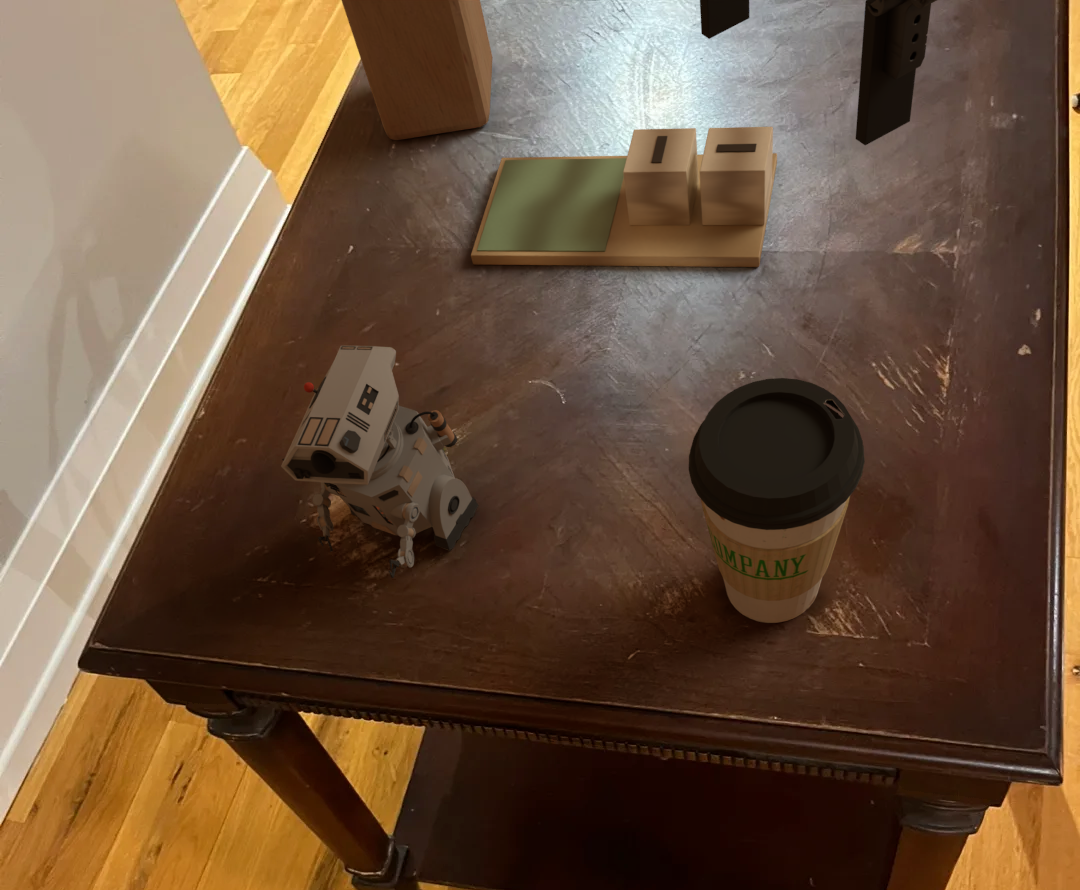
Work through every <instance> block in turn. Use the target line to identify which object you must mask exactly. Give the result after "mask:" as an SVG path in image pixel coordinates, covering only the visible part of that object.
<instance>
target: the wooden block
mask: <svg viewBox="0 0 1080 890" xmlns="http://www.w3.org/2000/svg"><path fill="white" fill-rule="evenodd" d="M341 3H342V6H343V9H344V12H345V15H346V19H347V22H348V25H349V27H350V31H351V33H352V36H353V39H354V43H355V46H356V49H357V52H358V55H359V57H360V61H361V64H362V68H363V70H364V72H365V73H364V74H365V76H366V78H367V82H368V85H369V88H370V90H371V94H372V97H373V100H374V103H375V106H376V109H377V113H378V115H379V118H380V121H381V124H382V127H383V130H384V132H385V134H386V136H387V137H388V138H389V139H390V140H393V141H400V140H401V141H402V140H407V139H413V138H418V137H426V136H432V135H437V134H445V133H451V132H457V131H463V130H469V129H470V130H471V129H476V128H481V127H483V126H485V125H487V124H488V122H489V119H490V114H491V97H492V96H491V94H492V78H493V53H492V48H491V45H490V39H489V35H488V31H487V26H486V22H485V16H484V11H483V8H482V3H481V0H341Z"/></svg>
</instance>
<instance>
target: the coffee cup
mask: <svg viewBox="0 0 1080 890" xmlns="http://www.w3.org/2000/svg"><path fill="white" fill-rule="evenodd" d="M826 404H827V405H826ZM828 405H829V406H828ZM832 408H833V409H832ZM834 409H835V410H834ZM837 411H838V412H839V413H838V412H837ZM840 413H841V414H842V415H843V416H841V414H840ZM865 461H866V460H865V446H864V441H863V438H862V435H861V431H860V429H859V427H858V425H857V424H856V421H855V420H854V419H853V417H852V416H851V414H850V412H849V410H848V409H847V408H846V405H845V404H844V403H843V402H842V401H841V400H840V399H839V398H838V397H837V396H836V395H835V394H833V393H832V392H830V391H828V390H827V389H826V388H824V387H822V386H820V385H817V384H816V383H813V382H810V381H805V380H802V379H799V378H787V377H776V378H775V377H774V378H765V379H760V380H756V381H751V382H749V383H746V384H744V385H741V386H739V387H737V388H735V389H733V390H732V391H729V392H727V394H725V395H724V396H723V397H721V398H720V399H719V400H718V401H716V403H714V405H713V406H712V408H711V409H710V410H708V413H707V414H706V416H705V418H704V420H703V421H701V424H700V425H699V427H698V429H697V431H696V433H695V434H694V436H693V439H692V442H691V446H690V449H689V453H688V473H689V478H690V483H691V485H692V487H693V489H694V491H695V493H696V495H697V496H698V497H699V499H700V503H701V507H702V512H703V515H704V520H705V523H706V527H707V530H708V534H709V538H710V542H711V545H712V549H713V553H714V556H715V557H714V558H715V561H716V564H717V568H718V570H719V573H720V574H721V576H722V579H723V583H724V586H725V591H726V595H727V597H728V600H729V602H730V603H731V605H732V606H733V608H734V609H735V610H737V611H738V612H739V613H740V614H742V615H743V616H745V617H746V618H747V619H750V620H753V621H756V622H758V623H759V622H760V623H765V624H776V623H782V622H788V621H790V620H792V619H796V618H797V617H799V616H800V615H803V614H804V613H805V612H806V611H807V610H808V609H810V607H811V606H812V604H813V603H814V602H815V600H816V598H817V596H818V594H819V590H820V586H821V583H822V582H823V581H822V580H823V577H824V576H825V574H826V573H827V570H828V568H829V566H830V563H831V559H832V557H833V555H834V554H833V553H834V550H835V548H836V544H837V541H838V538H839V535H840V532H841V529H842V526H843V523H844V520H845V517H846V513H847V510H848V507H849V504H850V498H851V495H852V494H853V493H854V491H856V489H857V486H858V485H859V482H860V480H861V478H862V476H863V471H864V468H865Z"/></svg>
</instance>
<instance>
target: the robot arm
mask: <svg viewBox="0 0 1080 890" xmlns="http://www.w3.org/2000/svg"><path fill="white" fill-rule="evenodd" d="M937 1H938V0H865V3H864V4H865V5H864V15H863V16H864V17H863V19H864V20H863V30H862V31H863V32H862V43H861V44H862V45H861V56H860V57H861V58H860V72H859V87H858V100H857V112H856V114H857V115H856V126H855V127H856V129H855V140H856V141H858V142H859V143H861V144H862V145H864V146H868V145H869V144H871V143H873V142H874V141H876V140H878V139H880V138H882V137H884V136H886V135H887V134H889V133H891V132H893V131H895V130H897V129H899V128H900V127H902V126H904V125H906V124H907V123H909V122H911V115H912V106H913V98H914V90H915V81H916V72H917V69H918V68H921V66H922V64H923V62H924V60H925V57H926V50H927V42H928V32H929V25H930V16H931V8H932V4H933V3H936V2H937ZM699 10H700V32H701V35H702V36H704V37H705V38H706V39H708V40H710V39H712V38H715V37H716V36H718V35H720V34H722V33H724V32H726V31H727V30H729V29H731V28H733V27H736V26H737V25H739V24H741V23H742V22H745V21H746V20H749V19H750V0H699Z"/></svg>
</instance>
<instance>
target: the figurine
mask: <svg viewBox="0 0 1080 890" xmlns="http://www.w3.org/2000/svg"><path fill="white" fill-rule="evenodd" d="M396 357H397V350H395V349H394V348H393V347H392V346H379V345H378V346H377V345H340V347H339V349H338V351H337V354H336V356H335V358H334V359H333V362H332V363H331V365H330V367H329V368H328V370H327V372H326V374H325V376H324V377H323V379H322V381H321V382H320V384H319V385H318V387H317V389H315V385H314V383H312V382H309V381H308V382H305V383H304V385H303V389H304V391H305V392H306V393H309V394H310V393H314V394H313V395H312V398H311V400H310V403H309V405H308V406H307V409H306V411H305V413H304V416H303V417H302V420H301V422H300V424H299V427H298V429H297V430H296V433H295V435H294V436H293V439H292V442H291V443H290V446H289V448H288V450H287V453H286V454H285V456H284V458H282V459H281V460H282V463H281V465H280V467H281V468H282V469H283V470H284V471H285V473H287V474H288V476H290V477H291V478H292V479H293V480H294V481H296V482H297V481H298V482H310V483H311V482H313V483H320V487H321V489H320V492H319V493H316V494H314V495H313V496H312V503H313V505H314V506H316V512H317V515H318V516H317V517H316V522H317V524H318V527H319V529H320V530H321V531H322V535H323V536H318V537H317V540H318V541H319V543H320V545H321V546H322V547H324V544H323V542H327V545H328V547H329V552H330V553H331V552H334V549H333V547H332V544H331V541H330V538H331V533H330V531H331V532H333V531H334V529H335V528H334V523H333V521H332V519H331V510H330V507H331V505H332V501H331V500H332V499H330V498H329V496H330V494H332V495H335V496H338V497H339V498H340V499H341V500H342V501H343V502H344V503H345V505H346V506H347V507H348V508H349V511H350V514H351V516H354V517H357V518H358V519H359V520H360V521H361V522H362V523H364V524H367V525H370V526H371V527H372V528H374V529H377V530H379V531H383V532H385V533H388V534H391V535H393V536H399V537H400V540H399V546H400V548H399V549H398V551H397V558H396V559H389V561H388V562H389V567H390V570H388V572H389V575H390V578H391V579H394V577H395V574H396V571H397V568H399V567H400V568H402V569H404V568H406V567H408V568H413V566H414V564H415V553H414V550H413V544H414V541H413V539H414V538H415V536H416V534H418V533H421V532H423V531H425V530H427V529H430V528H432V530H433V532H434V534H433V540H434V544H435V547H438V548H441V549H444V550H447V551H451V550H452V549H454V548H455V547H456V542H457V541H459V540H460V539H461V537H462V532H463V531H464V529H465V528H466V527H468V526H469V524H470V521H471V519H472V518H474V517H475V514H476V510H477V509H478V508H479V503H478V502H477V500H476V498H475V497H473V496H472V495H471V493H470V491H469V489H468V487H467V486H466V484H465V483H464V481H462V480H461V479H459V478H457V477H455V475H454V471H453V468H452V465H451V463H450V460H449V457H448V456H447V454H446V453H445V452H446V450H447V448H452V447H454V446H455V445H456V444H457V442H458V436H457V435H456V433H455V432H454V431H452V429H451V427H450V425H449V424H448V422H447V419H446V418H445V417H444V416H443V414H442V412H441V411H439V410H437V409H433V410H430V411H423V412H422V411H421V412H420V413H419V412H418V411H417V410H415V409H411V408H408V407H406V406H402V405H399V404H400V403H399V401H400V396H399V392H398V388H397V385H396V381H395V377H394V374H393V369H394V366H395V365H396ZM425 415H427V420H428V421H429V423H430V425H428V426H427V424H426V422H425V421H424V420H423V418H422V416H425Z"/></svg>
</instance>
